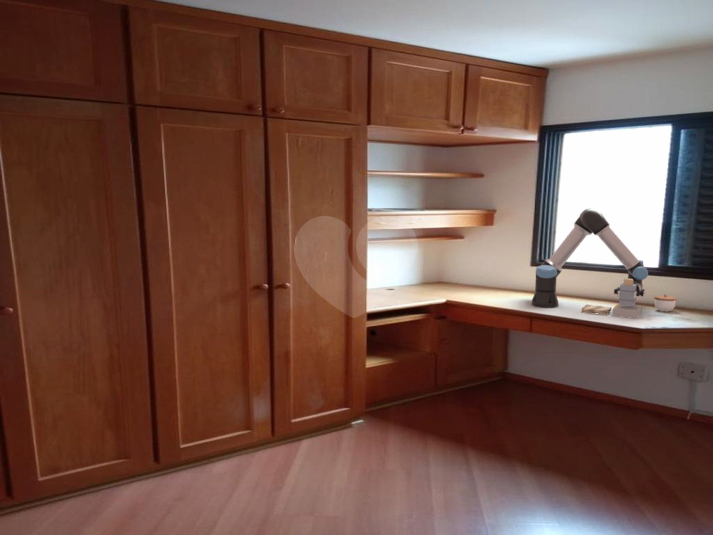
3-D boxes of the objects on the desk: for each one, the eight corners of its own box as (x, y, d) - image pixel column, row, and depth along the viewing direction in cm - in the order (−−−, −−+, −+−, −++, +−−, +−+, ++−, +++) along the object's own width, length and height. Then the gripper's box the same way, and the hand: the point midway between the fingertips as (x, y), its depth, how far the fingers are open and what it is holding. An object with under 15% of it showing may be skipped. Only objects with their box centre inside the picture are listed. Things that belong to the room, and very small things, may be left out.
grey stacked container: (618, 304, 277) (620, 284, 276) (620, 302, 283) (622, 283, 282) (633, 306, 273) (635, 286, 272) (635, 304, 279) (636, 284, 278)
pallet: (581, 312, 285) (581, 308, 285) (586, 308, 296) (586, 304, 295) (607, 315, 278) (607, 311, 277) (611, 311, 288) (611, 307, 288)
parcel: (624, 285, 276) (625, 279, 275) (623, 283, 279) (624, 278, 279) (633, 285, 274) (633, 279, 274) (631, 284, 278) (632, 278, 278)
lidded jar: (663, 313, 283) (664, 296, 282) (648, 309, 293) (649, 293, 292) (679, 312, 285) (681, 295, 284) (664, 308, 295) (666, 292, 294)
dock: (612, 315, 277) (612, 308, 276) (616, 311, 288) (616, 304, 287) (637, 318, 270) (637, 310, 269) (640, 313, 281) (641, 306, 281)
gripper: (651, 297, 287) (647, 303, 268) (612, 293, 298) (605, 299, 279) (652, 283, 286) (648, 289, 267) (613, 281, 297) (606, 286, 279)
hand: (626, 294), depth 273 cm, fingers closed on grey stacked container, 7 cm apart
